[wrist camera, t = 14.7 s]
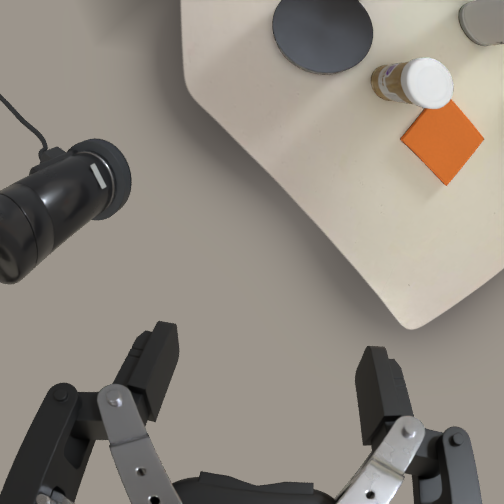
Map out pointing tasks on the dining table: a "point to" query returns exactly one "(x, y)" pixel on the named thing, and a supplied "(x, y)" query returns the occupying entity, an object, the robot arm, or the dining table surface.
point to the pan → (323, 34)
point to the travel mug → (483, 21)
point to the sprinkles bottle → (414, 83)
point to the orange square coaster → (443, 140)
